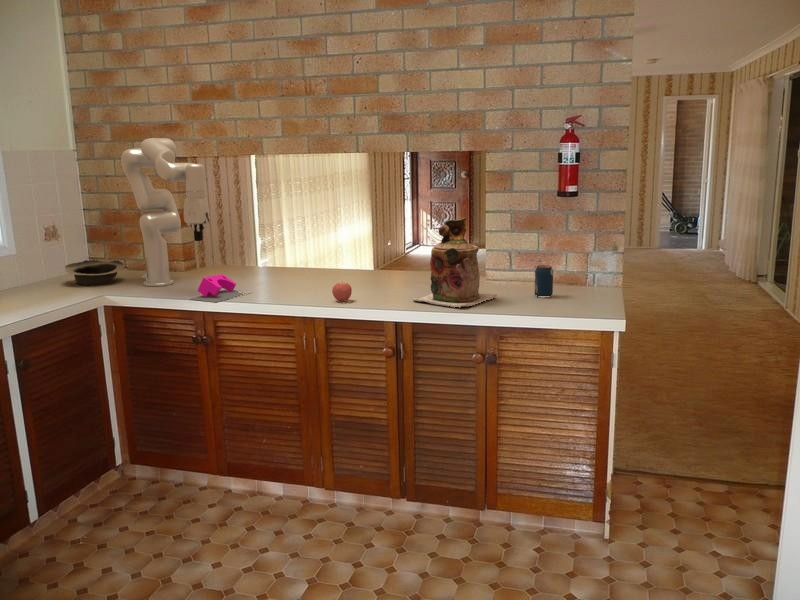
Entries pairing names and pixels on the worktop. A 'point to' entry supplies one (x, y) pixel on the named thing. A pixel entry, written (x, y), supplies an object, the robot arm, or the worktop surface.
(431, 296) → the cookie jar
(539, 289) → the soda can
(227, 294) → the mat
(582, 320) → the worktop surface
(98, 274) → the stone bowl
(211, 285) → the toy block
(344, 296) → the apple
